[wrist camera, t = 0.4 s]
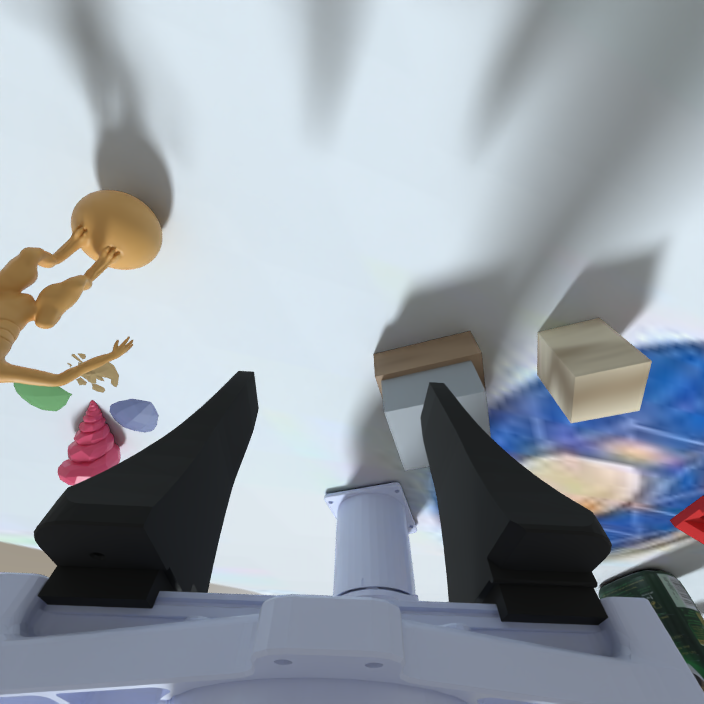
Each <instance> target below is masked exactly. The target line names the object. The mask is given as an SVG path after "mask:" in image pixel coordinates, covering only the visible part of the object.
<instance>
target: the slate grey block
mask: <svg viewBox="0 0 704 704" xmlns="http://www.w3.org/2000/svg"><path fill="white" fill-rule="evenodd" d="M429 382H437V383H445V385H446V386H447V387H448V388H449V390H450V391H451V392H452V393H453V395H454V396H455V397H456V399H457V400H458V401H459V402H460V404H461V405H462V406H463V407H464V409H465V410H466V411H467V412H468V413H469V414H470V416H471V417H472V418H473V419H474V420H475V421H476V423H477V424H478V425H479V426H480V427H481V428H482V429H483V430H484V431H485V432H486V433H487V434H488V435H489V436H490V427H489V417H488V408H487V399H486V391H485V389H484V387H483V385H482V382H481V380H480V378H479V376H478V374H477V372H476V369H475V367H474V365H473V363H472V361H471V360H470V361H465V362H461V363H457V364H452V365H448V366H443V367H439V368H435V369H430V370H426V371H421V372H417V373H412V374H408V375H404V376H399V377H395V378H390V379H386V380H382V381H381V385H382V395H383V406H384V414H385V417H386V419H387V422H388V425H389V428H390V431H391V433H392V436H393V439H394V442H395V445H396V448H397V450H398V453H399V456H400V459H401V462H402V464H403V467H404V470H405V471H408V470H413V469H419V468H425V467H430V466H429V462H428V459H427V454H426V450H425V446H424V442H423V436H422V428H421V419H420V417H421V413H422V409H423V405H424V401H425V397H426V393H427V389H428V386H429ZM490 437H491V436H490Z"/></svg>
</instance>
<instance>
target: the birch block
mask: <svg viewBox="0 0 704 704" xmlns="http://www.w3.org/2000/svg"><path fill="white" fill-rule="evenodd" d="M651 362H652V361H651V360H650V359H648V358H647V357H646V356H645V355H644V354H642V353H641V352H640V351H639V350H638V349H636V348H635V347H634V346H633V345H632V344H630V343H629V342H628V341H627V340H626V339H624V338H623V337H622V336H621V335H620V334H618V333H617V332H616V331H615V330H614V329H612V328H611V327H610V326H609V325H608V324H606V323H605V322H604V321H603V320H602V319H600V318H597V319H592V320H588V321H584V322H579V323H575V324H571V325H566V326H562V327H558V328H553V329H549V330H545V331H541V332H538V348H537V375H538V377H539V378H540V379H541V381H542V382H543V384H544V385H545V387H546V388H547V389H548V391H549V392H550V394H551V395H552V397H553V398H554V399H555V401H556V402H557V404H558V405H559V407H560V408H561V409H562V411H563V412H564V414H565V415H566V417H567V418H568V419H569V421H570V422H571V423H575V422H580V421H585V420H591V419H596V418H602V417H607V416H612V415H618V414H623V413H629V412H634V411H639V410H640V406H641V402H642V398H643V394H644V390H645V386H646V382H647V378H648V374H649V370H650V366H651Z"/></svg>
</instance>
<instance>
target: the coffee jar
mask: <svg viewBox="0 0 704 704" xmlns="http://www.w3.org/2000/svg"><path fill="white" fill-rule="evenodd" d="M606 597H634V598H645V599H647V600H648V601H649V602H650V604H651V606H652V607H653V609H654V610H655V612H656V614H657V615H658V617H659V619H660V620H661V622H662V624H663V625H664V627H665V629H666V630H667V632H668V634H669V635H670V637H671V639H672V640H673V642H674V644H675V645H676V647H677V649H678V650H679V652H680V654H681V655H682V657H683V659H684V660H685V662H686V664H687V665H688V667H689V669H690V670H691V672H692V673H693V675H694V677H695V678H696V680H697V682H698V683H699V685H700V687H701V688H702V690H703V692H704V619H703V617H702V616H701V614H700V612H699V611H698V609H697V607H696V606H695V604H694V602H693V601H692V599H691V597H690V596H689V594H688V593H687V591H686V589H685V588H684V586H683V585H682V584H681V582H680V581H679V580H678V579H677V578H676V577H674V576H673V575H671V574H670V573H667V572H665V571H661V570H658V571H651V570H644V571H640V572H636V573H633V574H630V575H627V576H625V577H622V578H620V579H617V580H615V581H613V582H611V583H609V584H607V585H605V586H603V587H602V588H601V589H600V590H599V598H600V599H602V598H606Z"/></svg>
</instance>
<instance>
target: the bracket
mask: <svg viewBox="0 0 704 704" xmlns="http://www.w3.org/2000/svg"><path fill="white" fill-rule="evenodd" d="M670 521H671V523H672V524H673V525H674V526H675V527H676V528H678V529H679V530H681V531H682V532H684V533H686V534H687V535H689V536H691V537H692V538H694V539H696V540H697V541H699V542H701V543H702V544H704V496H702V497H700V498H699V499H698V500H696V501H695V502H694V503H692V504H691V505H690V506H688V507H687V508H686V509H684V510H683V511H682V512H680V513H679V514H678V515H676V516H675V517H674V518H672V519H671V520H670Z"/></svg>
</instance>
